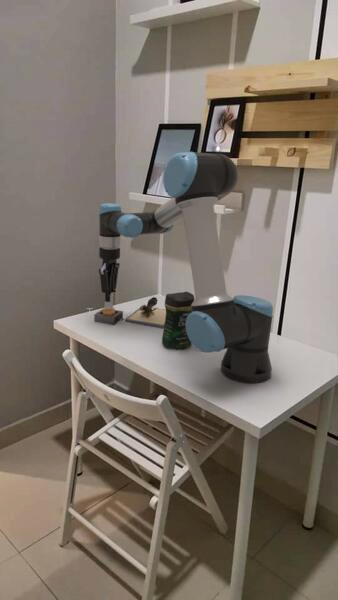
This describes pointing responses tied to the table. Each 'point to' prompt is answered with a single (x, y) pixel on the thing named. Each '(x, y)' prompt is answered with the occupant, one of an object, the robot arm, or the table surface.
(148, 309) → the eagle figurine
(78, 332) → the table surface
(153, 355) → the table surface
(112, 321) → the button housing
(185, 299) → the coffee jar
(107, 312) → the button
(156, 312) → the board
